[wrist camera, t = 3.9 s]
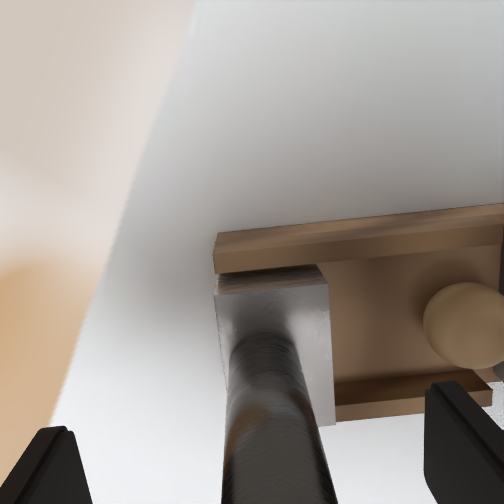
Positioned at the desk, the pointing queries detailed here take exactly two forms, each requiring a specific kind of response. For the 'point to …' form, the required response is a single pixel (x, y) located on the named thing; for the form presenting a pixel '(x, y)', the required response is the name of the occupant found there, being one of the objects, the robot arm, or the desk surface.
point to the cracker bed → (385, 296)
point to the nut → (466, 325)
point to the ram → (276, 385)
